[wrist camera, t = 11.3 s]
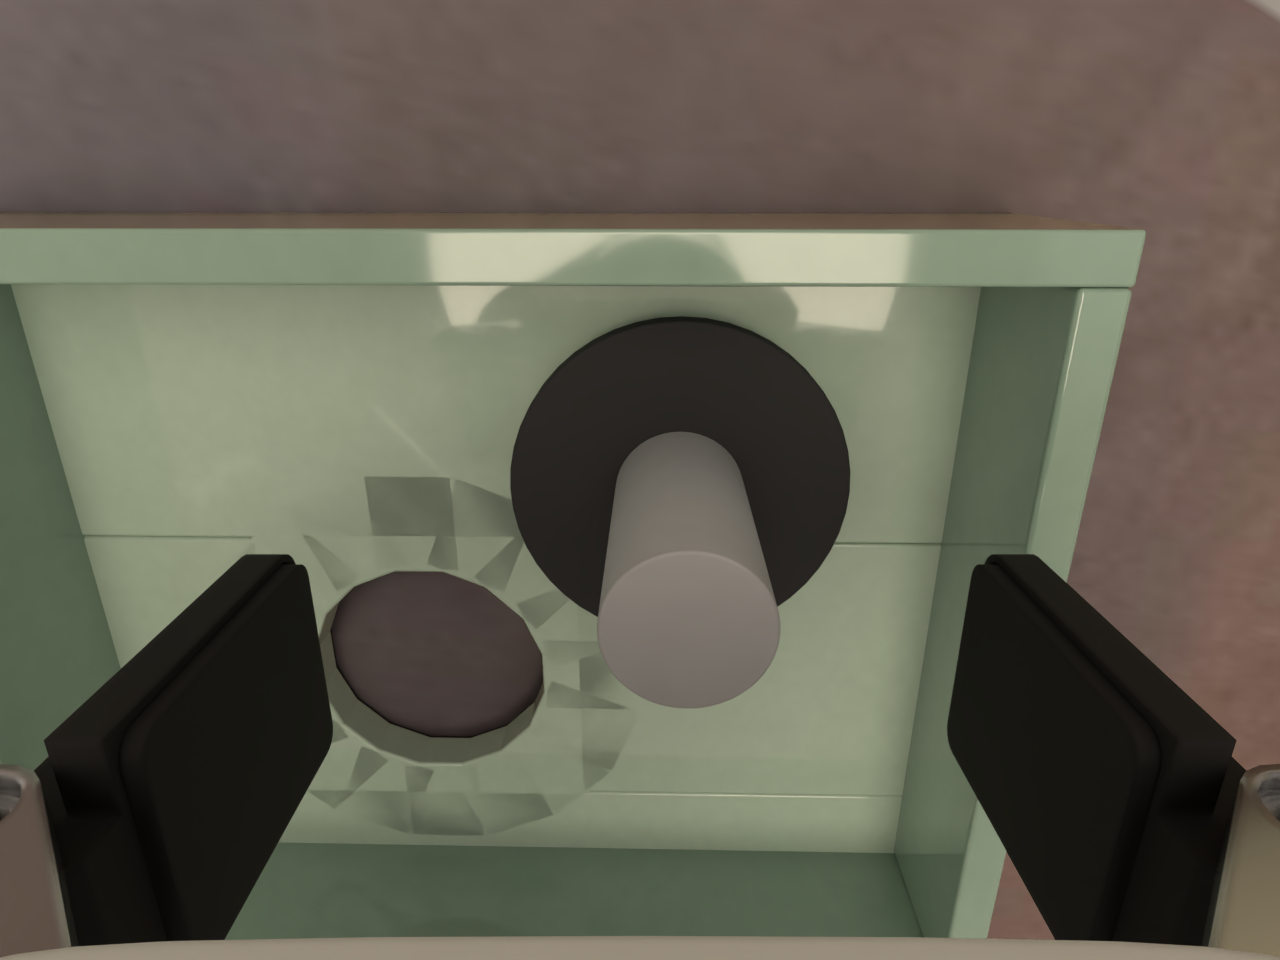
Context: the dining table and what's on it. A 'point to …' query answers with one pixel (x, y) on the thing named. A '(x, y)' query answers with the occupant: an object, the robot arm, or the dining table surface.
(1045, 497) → the sink
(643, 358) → the plug
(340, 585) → the sink floor
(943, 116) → the dining table surface
